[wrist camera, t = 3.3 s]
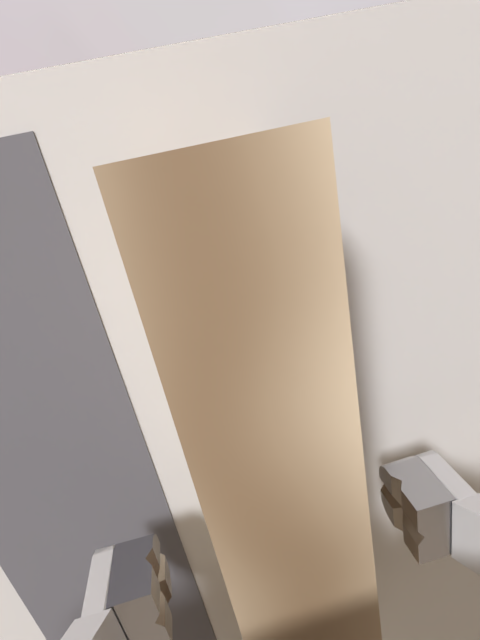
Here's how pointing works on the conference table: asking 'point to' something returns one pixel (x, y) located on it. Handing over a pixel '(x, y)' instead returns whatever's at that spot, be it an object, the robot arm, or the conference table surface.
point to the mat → (128, 332)
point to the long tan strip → (258, 367)
